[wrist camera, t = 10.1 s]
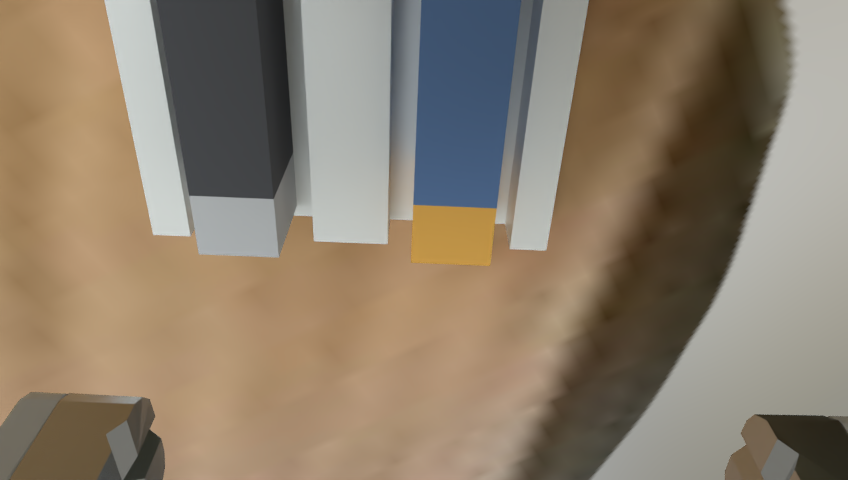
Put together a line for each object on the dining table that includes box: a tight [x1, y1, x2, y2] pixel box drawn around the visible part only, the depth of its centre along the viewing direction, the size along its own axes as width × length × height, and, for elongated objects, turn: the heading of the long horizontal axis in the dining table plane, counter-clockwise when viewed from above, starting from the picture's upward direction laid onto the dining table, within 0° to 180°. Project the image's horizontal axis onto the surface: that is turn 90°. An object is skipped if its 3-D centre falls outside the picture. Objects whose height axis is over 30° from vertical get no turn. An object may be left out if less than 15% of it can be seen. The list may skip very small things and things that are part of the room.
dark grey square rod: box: [156, 0, 297, 257], centre depth 23 cm, size 12×3×4 cm, turn 178°
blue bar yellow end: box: [411, 0, 521, 266], centre depth 23 cm, size 12×3×4 cm, turn 178°
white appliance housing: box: [105, 0, 589, 251], centre depth 24 cm, size 13×16×3 cm
